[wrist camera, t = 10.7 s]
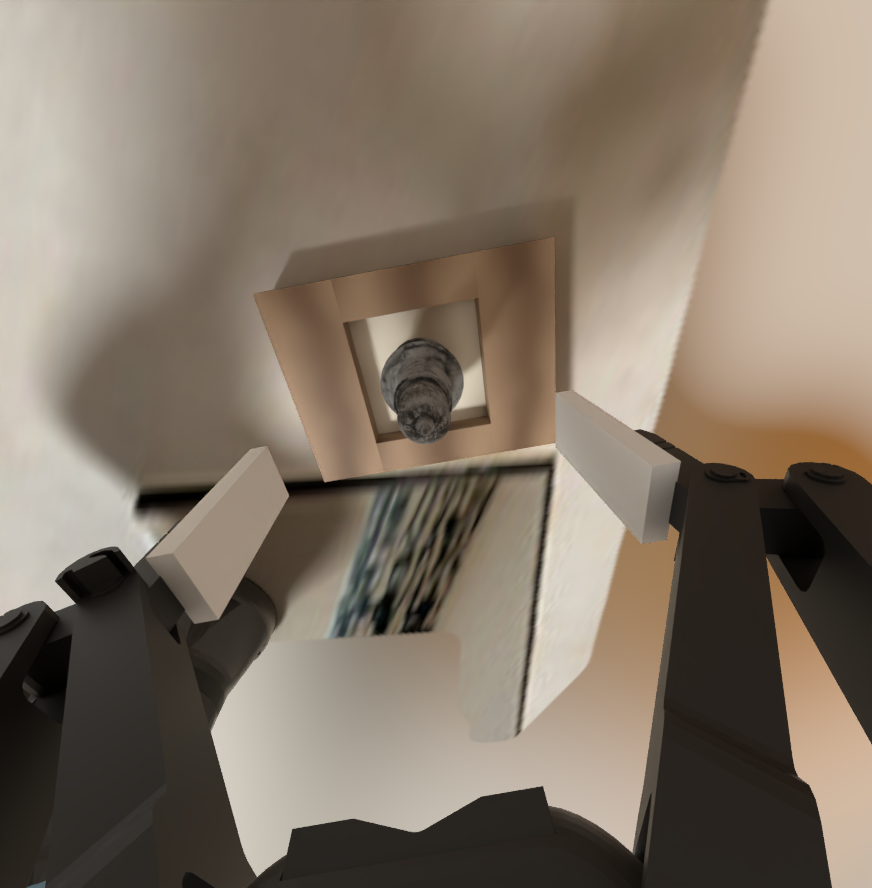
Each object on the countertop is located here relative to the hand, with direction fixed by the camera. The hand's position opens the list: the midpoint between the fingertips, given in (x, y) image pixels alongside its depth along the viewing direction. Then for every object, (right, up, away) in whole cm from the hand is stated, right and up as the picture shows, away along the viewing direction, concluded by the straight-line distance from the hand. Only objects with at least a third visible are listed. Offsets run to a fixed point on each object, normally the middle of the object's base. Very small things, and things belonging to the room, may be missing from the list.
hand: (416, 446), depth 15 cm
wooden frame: (0, +7, +13) cm, 14 cm away
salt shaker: (0, +6, +12) cm, 13 cm away
